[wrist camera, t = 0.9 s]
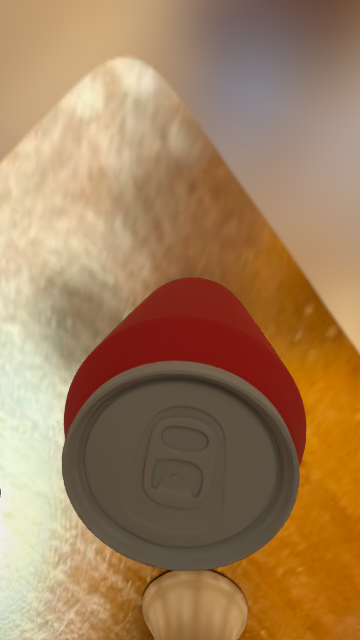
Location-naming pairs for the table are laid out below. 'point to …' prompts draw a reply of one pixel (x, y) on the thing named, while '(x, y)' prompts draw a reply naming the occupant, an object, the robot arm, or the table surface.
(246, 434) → the beverage can
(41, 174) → the table surface
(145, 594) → the hand bell
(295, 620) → the table surface
